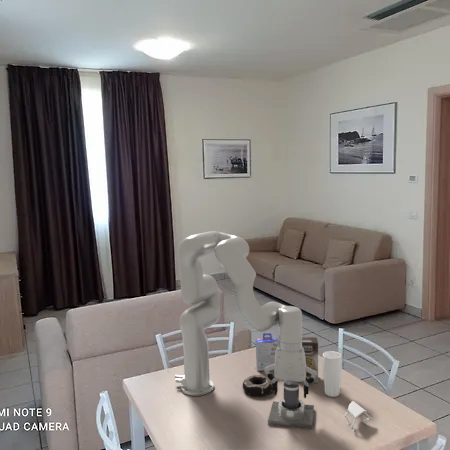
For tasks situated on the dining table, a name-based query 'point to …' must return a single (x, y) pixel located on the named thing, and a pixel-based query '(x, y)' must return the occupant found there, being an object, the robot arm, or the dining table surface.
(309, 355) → the coffee box
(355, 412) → the origami figure
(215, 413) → the dining table surface
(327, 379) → the drinking glass
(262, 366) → the ink cartridge box
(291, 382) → the lens
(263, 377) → the donut
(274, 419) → the mount
